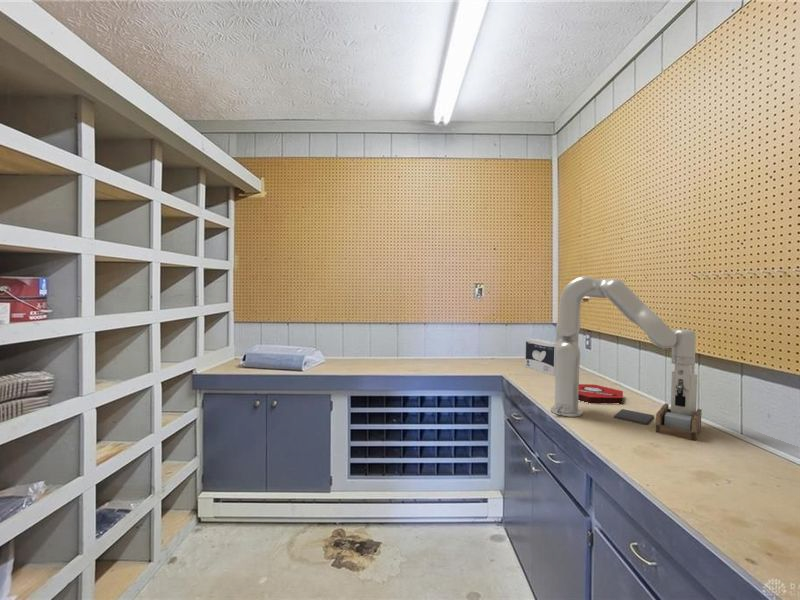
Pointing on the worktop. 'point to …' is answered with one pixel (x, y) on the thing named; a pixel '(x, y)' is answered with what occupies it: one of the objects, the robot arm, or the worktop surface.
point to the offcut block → (678, 421)
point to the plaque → (599, 394)
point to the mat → (634, 416)
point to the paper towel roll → (690, 398)
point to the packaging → (540, 355)
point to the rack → (677, 431)
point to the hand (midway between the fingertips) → (681, 403)
